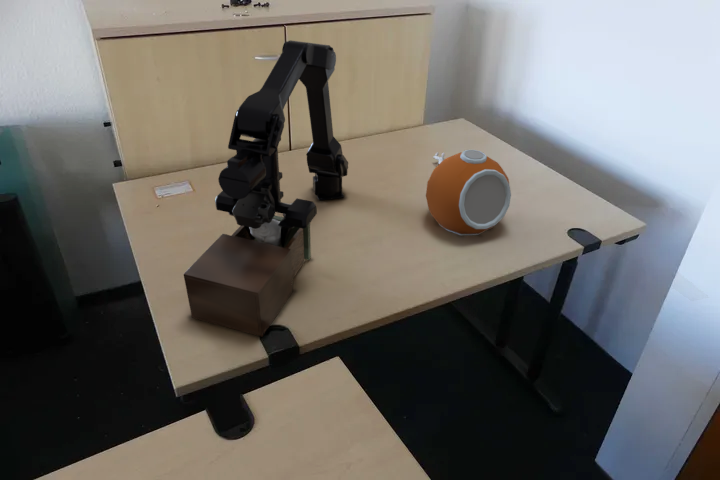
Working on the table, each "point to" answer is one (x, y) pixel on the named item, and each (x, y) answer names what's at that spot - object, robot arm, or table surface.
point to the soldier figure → (439, 157)
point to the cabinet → (240, 284)
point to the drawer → (289, 244)
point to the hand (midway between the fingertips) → (268, 242)
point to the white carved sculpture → (268, 233)
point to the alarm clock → (468, 193)
